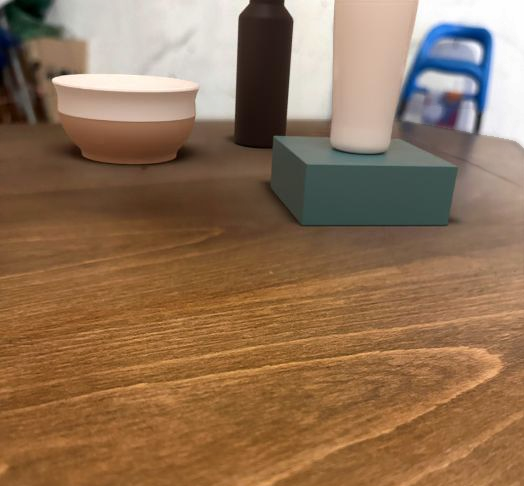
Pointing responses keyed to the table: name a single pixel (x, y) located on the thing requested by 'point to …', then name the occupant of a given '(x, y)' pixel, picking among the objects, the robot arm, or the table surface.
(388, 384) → the table surface
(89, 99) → the bowl
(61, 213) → the table surface
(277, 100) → the bottle
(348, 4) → the drinking glass
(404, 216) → the stand
